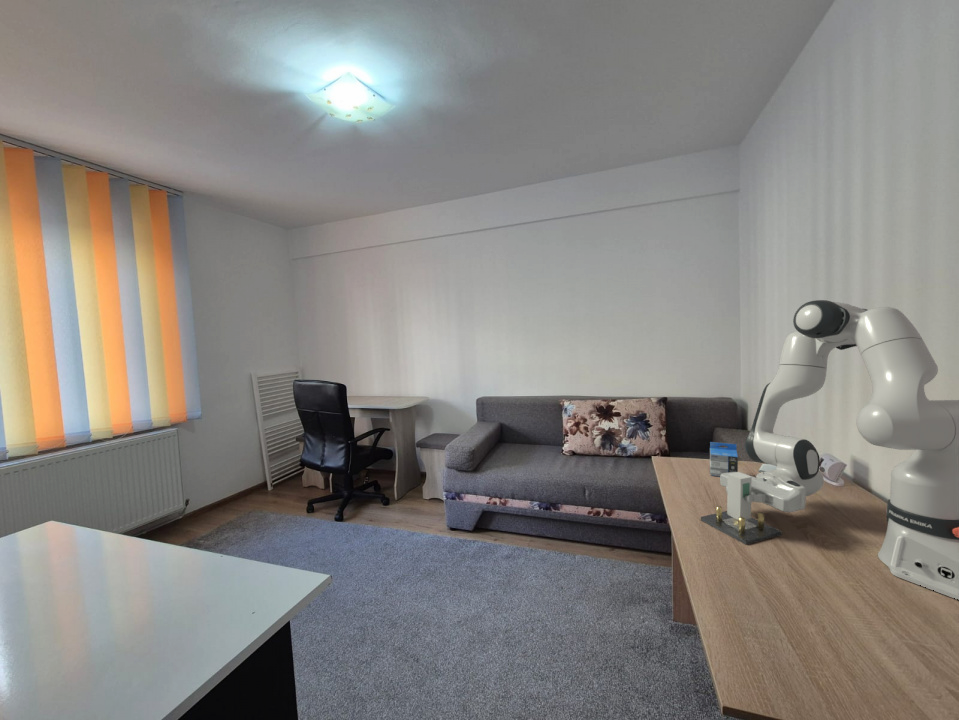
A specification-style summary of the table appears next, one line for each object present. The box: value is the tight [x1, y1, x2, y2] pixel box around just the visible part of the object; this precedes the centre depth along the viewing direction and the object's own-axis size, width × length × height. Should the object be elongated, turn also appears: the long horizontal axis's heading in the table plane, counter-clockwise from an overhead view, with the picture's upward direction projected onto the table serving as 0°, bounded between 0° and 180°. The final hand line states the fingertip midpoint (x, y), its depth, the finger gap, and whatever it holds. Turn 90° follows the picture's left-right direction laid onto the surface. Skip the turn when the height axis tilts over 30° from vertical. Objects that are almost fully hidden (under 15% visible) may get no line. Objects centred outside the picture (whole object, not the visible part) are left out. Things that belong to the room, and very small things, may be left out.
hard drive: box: [758, 463, 777, 473], centre depth 149 cm, size 2×8×12 cm
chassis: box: [700, 505, 783, 545], centre depth 109 cm, size 14×13×5 cm
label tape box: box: [709, 441, 739, 477], centre depth 145 cm, size 9×4×12 cm, turn 61°
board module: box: [726, 471, 752, 520], centre depth 108 cm, size 4×4×12 cm
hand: (736, 494), depth 108 cm, fingers closed on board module, 4 cm apart
